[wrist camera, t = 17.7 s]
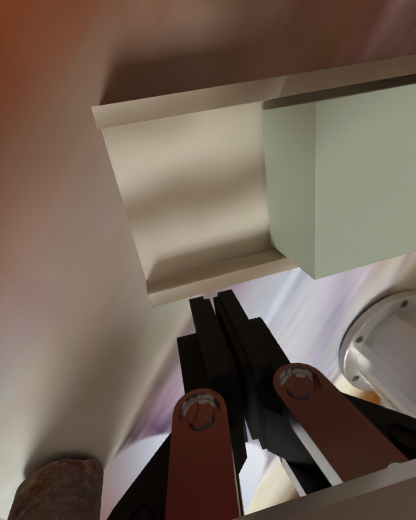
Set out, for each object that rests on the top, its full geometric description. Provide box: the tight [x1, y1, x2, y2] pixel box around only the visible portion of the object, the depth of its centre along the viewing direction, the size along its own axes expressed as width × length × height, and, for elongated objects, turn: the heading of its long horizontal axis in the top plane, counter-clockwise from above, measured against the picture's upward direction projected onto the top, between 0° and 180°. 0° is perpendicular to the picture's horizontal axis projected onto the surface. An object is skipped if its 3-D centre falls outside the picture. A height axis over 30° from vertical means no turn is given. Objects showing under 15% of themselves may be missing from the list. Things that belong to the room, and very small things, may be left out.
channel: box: [91, 54, 416, 307], centre depth 18 cm, size 12×30×8 cm, turn 99°
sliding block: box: [262, 83, 416, 280], centre depth 18 cm, size 9×12×6 cm
